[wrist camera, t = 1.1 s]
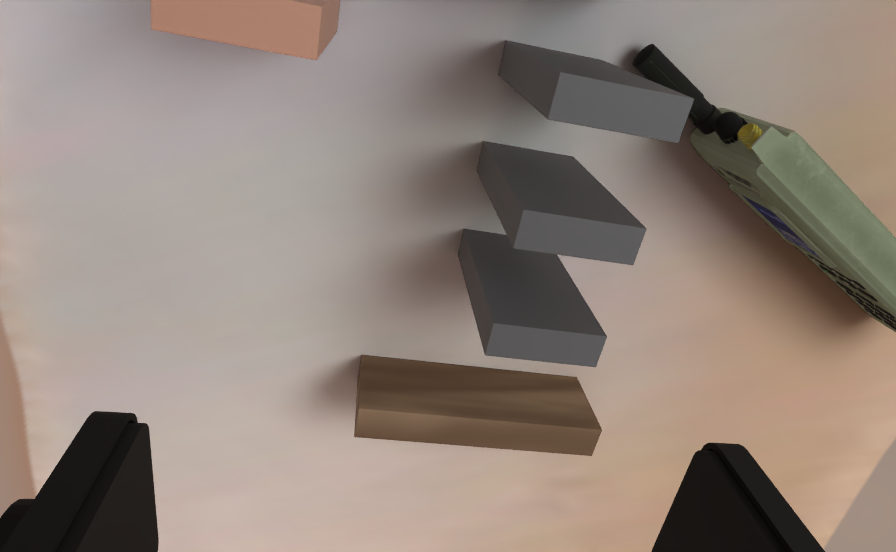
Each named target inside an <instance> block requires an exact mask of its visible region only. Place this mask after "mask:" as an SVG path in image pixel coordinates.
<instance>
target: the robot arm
mask: <svg viewBox="0 0 896 552" xmlns="http://www.w3.org/2000/svg"><path fill="white" fill-rule="evenodd" d="M0 552H158V529H157V517H156V505H155V494H154V482H153V470H152V459H151V447H150V435H149V427H148V425H147V424H146V423H138V422H137V417H136V415H135V414H133V413H119V412H100V411H95V412H93V413H91V414H90V416H89V417H88V418H87V420H86V421H85V423H84V424H83V426H82V427H81V429H80V430H79V432H78V433H77V435H76V436H75V438H74V439H73V441H72V443H71V444H70V446H69V447H68V449H67V450H66V452H65V453H64V455H63V456H62V458H61V459H60V461H59V462H58V464H57V466H56V467H55V469H54V470H53V472H52V473H51V475H50V476H49V478H48V479H47V481H46V482H45V484H44V485H43V487H42V488H41V490H40V492H39V493H38V495H37V496H36V498H35V499H19V500H17V501H16V502H14V503H13V504H11V506H10V507H9V508H8V509H7V510H6V511H5V512H4V514H3V515H2V516H1V518H0ZM652 552H825V551H824V550H823V548H822V547H821V546H820V544H819V543H818V542H817V541H816V539H815V538H814V537H813V535H812V534H811V533H810V531H809V530H808V529H807V528H806V526H805V525H804V524H803V522H802V521H801V520H800V518H799V517H798V516H797V514H796V513H795V512H794V511H793V509H792V508H791V507H790V505H789V504H788V503H787V501H786V500H785V499H784V497H783V496H782V495H781V494H780V492H779V491H778V490H777V488H776V487H775V486H774V484H773V483H772V482H771V480H770V479H769V478H768V477H767V475H766V474H765V473H764V471H763V470H762V469H761V467H760V466H759V465H758V463H757V462H756V461H755V460H754V458H753V457H752V456H751V454H750V453H749V452H748V450H747V449H746V448H745V447H743V446H742V445H739V444H726V443H707V444H706V445H704V446H703V448H702V449H701V451H697V452H696V453H695V454H694V456H693V458H692V460H691V463H690V465H689V467H688V469H687V472H686V474H685V476H684V478H683V481H682V483H681V485H680V487H679V490H678V492H677V494H676V497H675V499H674V501H673V503H672V506H671V508H670V510H669V512H668V515H667V517H666V519H665V522H664V524H663V526H662V528H661V531H660V533H659V535H658V537H657V540H656V542H655V544H654V547H653V549H652Z"/></svg>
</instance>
